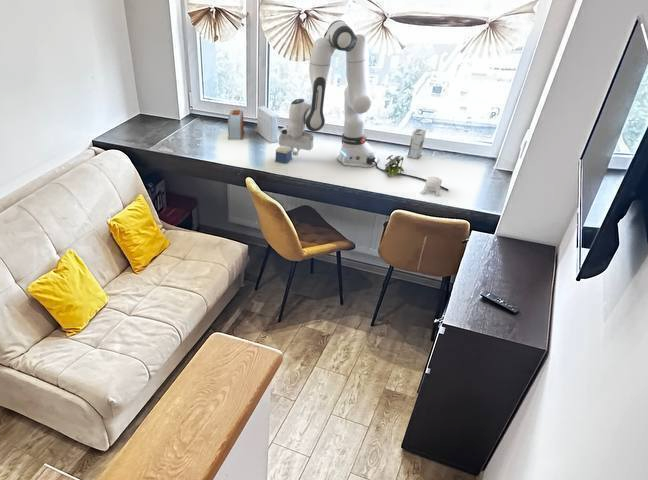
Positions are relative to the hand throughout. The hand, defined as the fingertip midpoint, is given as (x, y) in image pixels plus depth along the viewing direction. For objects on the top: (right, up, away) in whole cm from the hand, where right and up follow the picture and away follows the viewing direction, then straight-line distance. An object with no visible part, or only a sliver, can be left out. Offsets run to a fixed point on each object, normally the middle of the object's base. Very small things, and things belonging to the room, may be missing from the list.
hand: (295, 155), depth 310 cm
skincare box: (-13, +24, +33) cm, 44 cm away
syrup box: (+69, -1, +1) cm, 69 cm away
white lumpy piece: (+66, -32, -32) cm, 80 cm away
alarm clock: (-33, +27, +38) cm, 58 cm away
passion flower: (+53, -15, -14) cm, 56 cm away
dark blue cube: (-6, -1, +6) cm, 8 cm away
